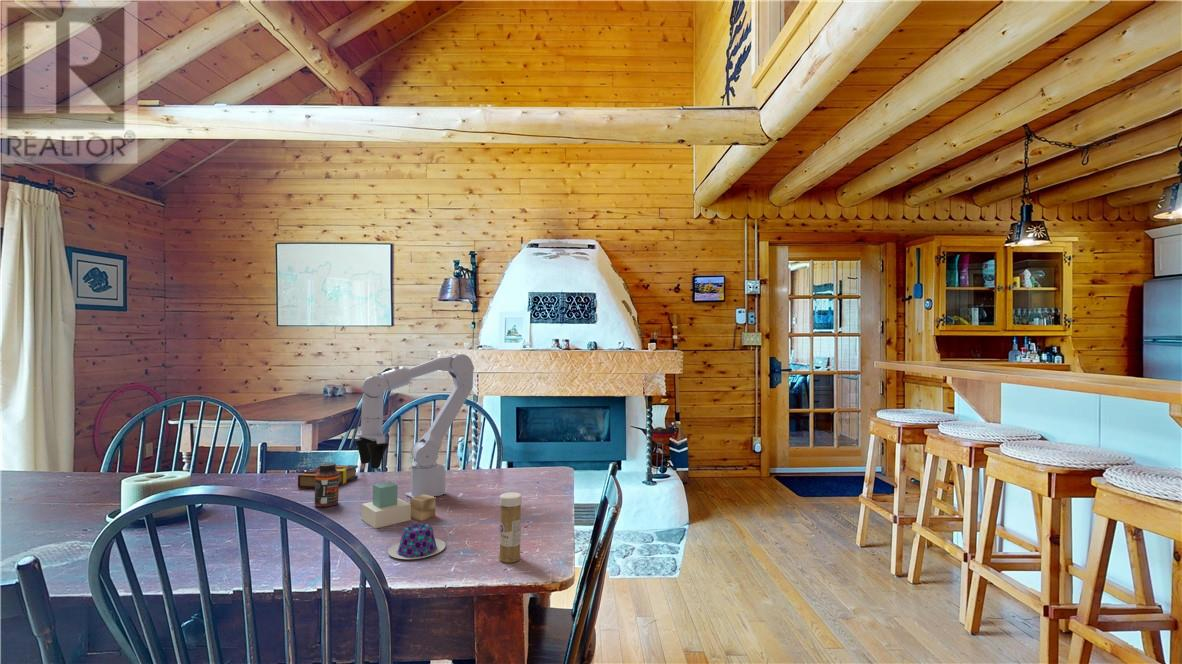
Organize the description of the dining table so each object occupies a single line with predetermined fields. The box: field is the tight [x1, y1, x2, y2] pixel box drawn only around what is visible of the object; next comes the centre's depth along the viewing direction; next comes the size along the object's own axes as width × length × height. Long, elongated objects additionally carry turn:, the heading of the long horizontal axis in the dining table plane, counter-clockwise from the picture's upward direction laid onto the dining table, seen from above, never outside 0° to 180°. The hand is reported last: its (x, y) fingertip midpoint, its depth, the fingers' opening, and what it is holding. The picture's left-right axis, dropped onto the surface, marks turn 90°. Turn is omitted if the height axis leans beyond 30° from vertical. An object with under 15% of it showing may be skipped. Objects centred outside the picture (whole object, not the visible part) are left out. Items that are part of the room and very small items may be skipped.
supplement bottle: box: [314, 462, 340, 508], centre depth 143 cm, size 6×6×11 cm
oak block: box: [409, 495, 437, 522], centre depth 133 cm, size 4×4×5 cm
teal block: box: [372, 481, 398, 508], centre depth 131 cm, size 4×4×5 cm
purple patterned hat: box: [387, 523, 447, 560], centre depth 112 cm, size 12×12×5 cm
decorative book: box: [297, 464, 359, 489], centre depth 167 cm, size 11×16×5 cm
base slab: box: [361, 497, 412, 529], centre depth 131 cm, size 9×9×4 cm
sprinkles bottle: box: [498, 491, 523, 564], centre depth 107 cm, size 5×5×13 cm
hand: (370, 465), depth 146 cm, fingers open, 7 cm apart
